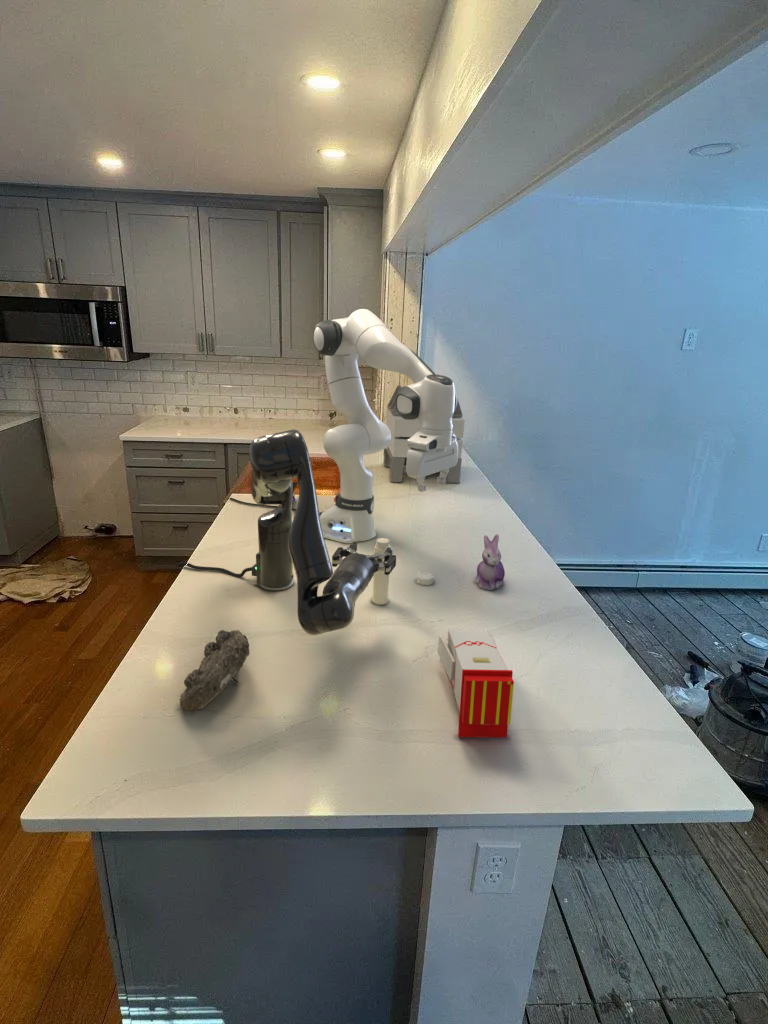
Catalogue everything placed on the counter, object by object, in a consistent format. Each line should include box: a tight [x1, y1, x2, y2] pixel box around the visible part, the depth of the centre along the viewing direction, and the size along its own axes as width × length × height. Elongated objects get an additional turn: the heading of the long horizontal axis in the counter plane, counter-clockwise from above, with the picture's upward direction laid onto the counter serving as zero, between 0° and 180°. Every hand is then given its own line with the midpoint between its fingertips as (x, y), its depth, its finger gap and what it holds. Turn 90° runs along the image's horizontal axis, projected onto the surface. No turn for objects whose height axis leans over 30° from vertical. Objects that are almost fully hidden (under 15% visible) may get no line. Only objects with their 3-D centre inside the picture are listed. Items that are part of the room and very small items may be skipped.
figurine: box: [475, 534, 506, 591], centre depth 164 cm, size 9×10×15 cm
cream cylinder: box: [371, 537, 391, 606], centre depth 151 cm, size 4×4×18 cm
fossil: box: [179, 629, 250, 712], centre depth 117 cm, size 22×10×15 cm
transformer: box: [383, 384, 465, 484], centre depth 268 cm, size 34×33×41 cm
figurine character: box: [292, 481, 298, 505], centre depth 223 cm, size 7×8×15 cm
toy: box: [437, 628, 515, 738], centre depth 117 cm, size 12×13×30 cm
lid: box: [416, 571, 434, 586], centre depth 165 cm, size 5×5×2 cm
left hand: (372, 548), depth 138 cm, fingers open, 8 cm apart
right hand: (431, 487), depth 156 cm, fingers open, 8 cm apart
